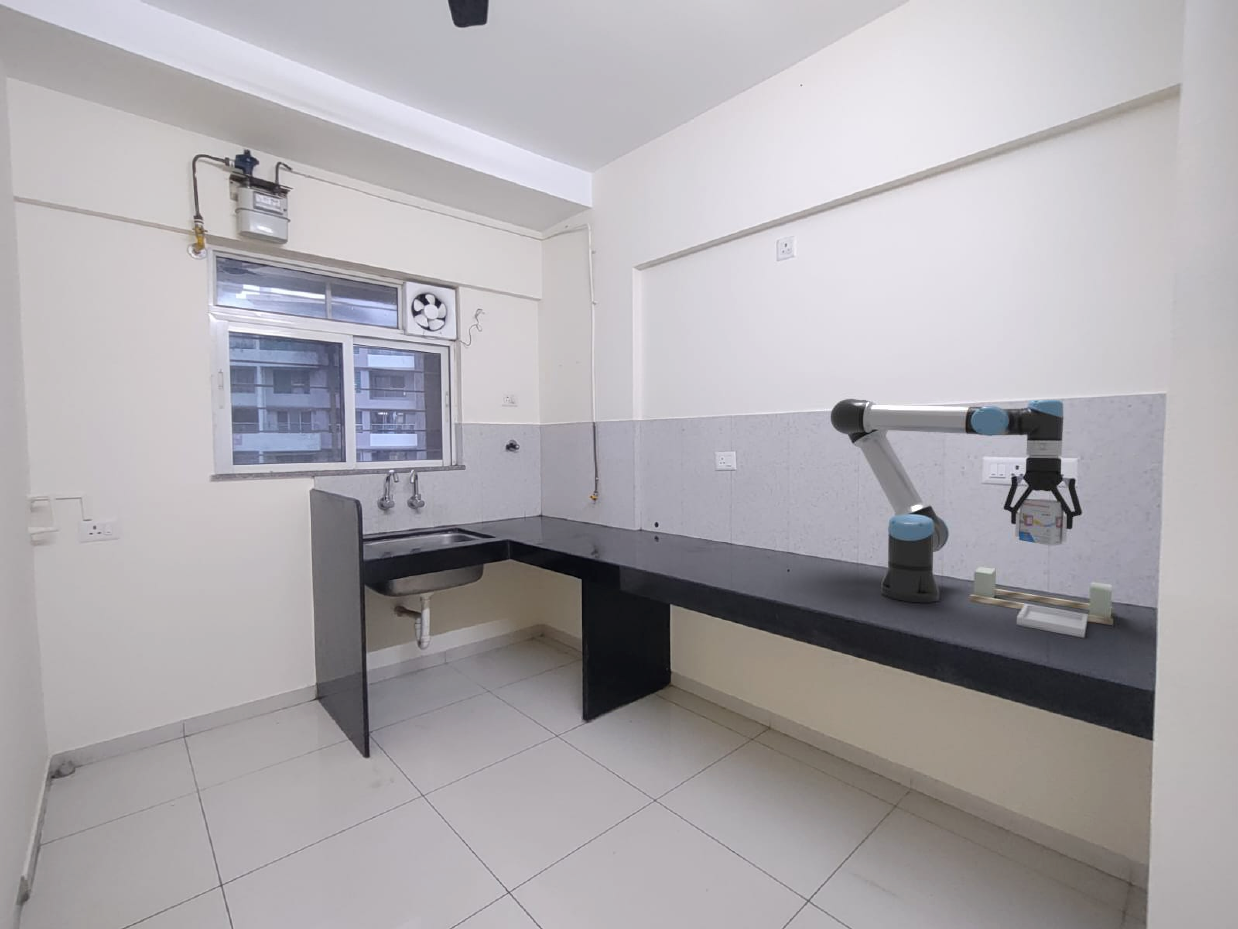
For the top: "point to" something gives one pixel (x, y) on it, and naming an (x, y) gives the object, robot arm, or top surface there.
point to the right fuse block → (1100, 599)
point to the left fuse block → (985, 582)
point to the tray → (1053, 620)
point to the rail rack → (1039, 599)
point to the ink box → (1041, 521)
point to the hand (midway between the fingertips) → (1040, 538)
